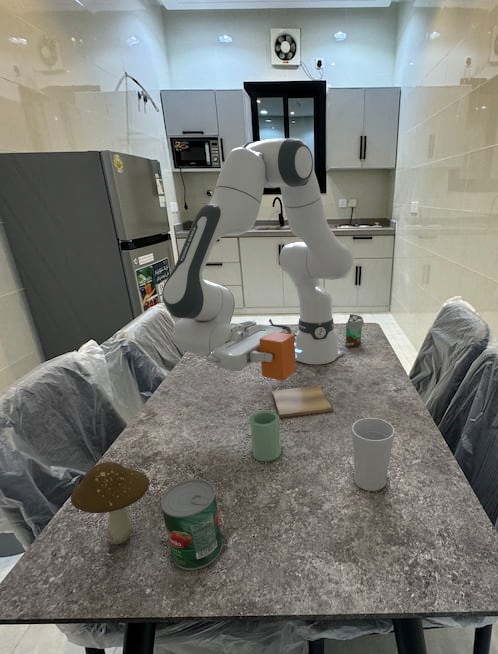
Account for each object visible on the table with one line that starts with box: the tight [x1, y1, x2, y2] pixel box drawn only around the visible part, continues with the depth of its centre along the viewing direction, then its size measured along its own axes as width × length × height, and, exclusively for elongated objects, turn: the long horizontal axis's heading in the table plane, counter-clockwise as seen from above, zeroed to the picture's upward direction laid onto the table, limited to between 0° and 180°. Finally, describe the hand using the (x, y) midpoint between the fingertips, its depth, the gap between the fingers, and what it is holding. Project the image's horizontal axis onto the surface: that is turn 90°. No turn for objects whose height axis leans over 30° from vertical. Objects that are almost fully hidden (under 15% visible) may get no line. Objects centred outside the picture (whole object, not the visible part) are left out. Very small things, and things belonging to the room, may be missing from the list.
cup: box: [351, 417, 396, 492], centre depth 74 cm, size 8×8×12 cm
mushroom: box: [70, 461, 151, 545], centre depth 61 cm, size 9×11×15 cm
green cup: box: [249, 410, 282, 462], centre depth 84 cm, size 6×6×9 cm
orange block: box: [260, 331, 297, 382], centre depth 86 cm, size 6×6×9 cm
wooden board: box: [272, 385, 333, 419], centre depth 106 cm, size 14×14×1 cm
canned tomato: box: [160, 478, 224, 571], centre depth 60 cm, size 8×8×11 cm
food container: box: [345, 313, 365, 348], centre depth 147 cm, size 12×6×10 cm, turn 168°
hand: (281, 352), depth 85 cm, fingers closed on orange block, 5 cm apart
